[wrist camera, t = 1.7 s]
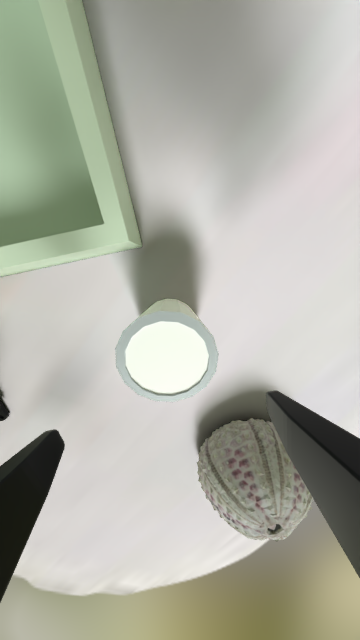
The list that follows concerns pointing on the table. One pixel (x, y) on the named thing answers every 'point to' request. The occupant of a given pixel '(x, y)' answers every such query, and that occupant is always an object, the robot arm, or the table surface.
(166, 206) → the table surface
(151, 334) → the shot glass
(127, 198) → the bin
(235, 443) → the sea urchin shell
